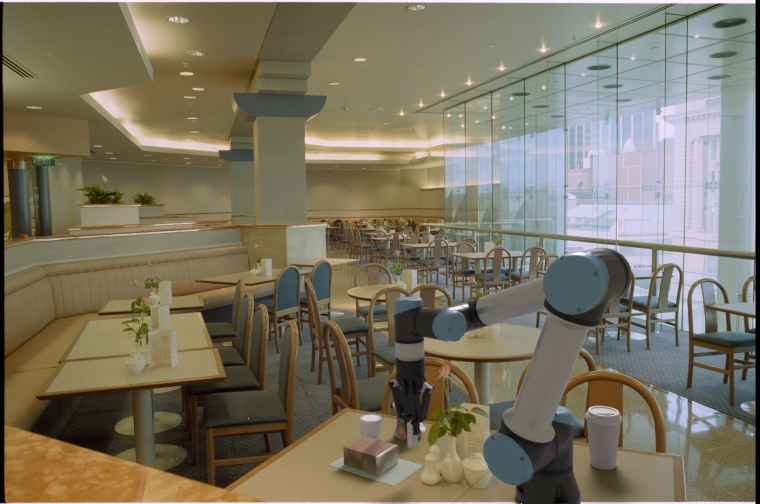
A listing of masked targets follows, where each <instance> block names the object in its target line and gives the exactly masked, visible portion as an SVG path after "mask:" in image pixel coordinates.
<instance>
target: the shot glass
mask: <svg viewBox="0 0 760 504" xmlns="http://www.w3.org/2000/svg"><path fill="white" fill-rule="evenodd" d="M358 419H359V420H358V421H359V422H358V423H359V430H360V437H362V436H366V437H370V438H373V439H377V440H380V439H381V433H382V415H380V414H376V413H366V414H363V415H360V416H359V418H358Z"/></svg>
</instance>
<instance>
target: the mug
mask: <svg viewBox="0 0 760 504" xmlns="http://www.w3.org/2000/svg"><path fill="white" fill-rule="evenodd" d="M420 405H421V400H420ZM392 408H393V409H394V412H395V417H396V427H395V431H394V433H393V435H394V437H395V439H397V440H401V441H406V442H407V433H405V423H404V420H403V419H402V418H398V416H397V412H396V407H395V403H394V401H393V402H392ZM411 420H412V419H411ZM421 437H422V431H421V430H420V434H418V439H420V438H421Z"/></svg>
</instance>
